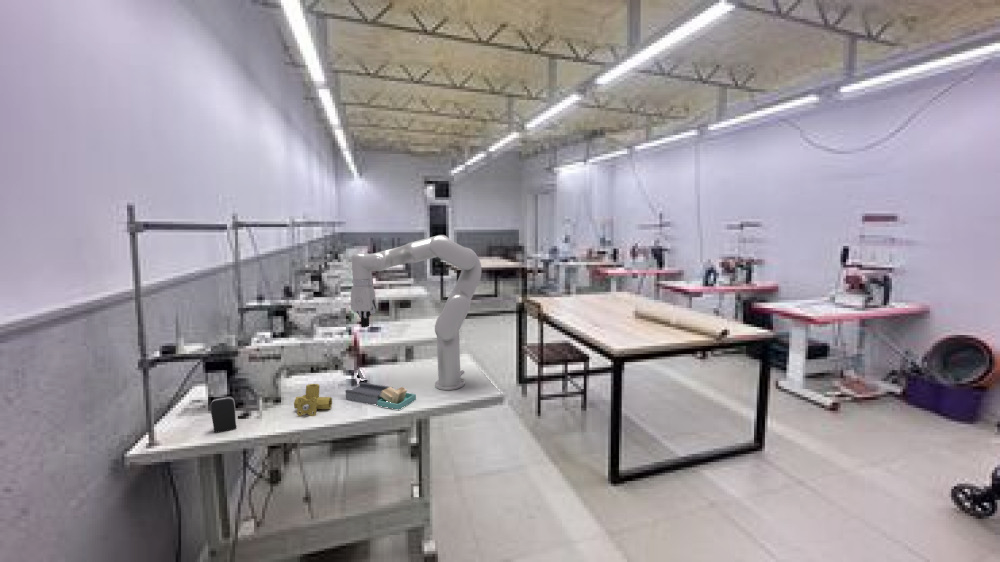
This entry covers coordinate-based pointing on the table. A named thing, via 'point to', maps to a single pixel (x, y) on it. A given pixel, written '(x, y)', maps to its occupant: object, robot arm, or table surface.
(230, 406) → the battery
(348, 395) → the rail plate
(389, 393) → the chip
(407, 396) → the tray
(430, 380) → the table surface
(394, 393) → the chip
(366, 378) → the hinge
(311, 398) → the ball valve
